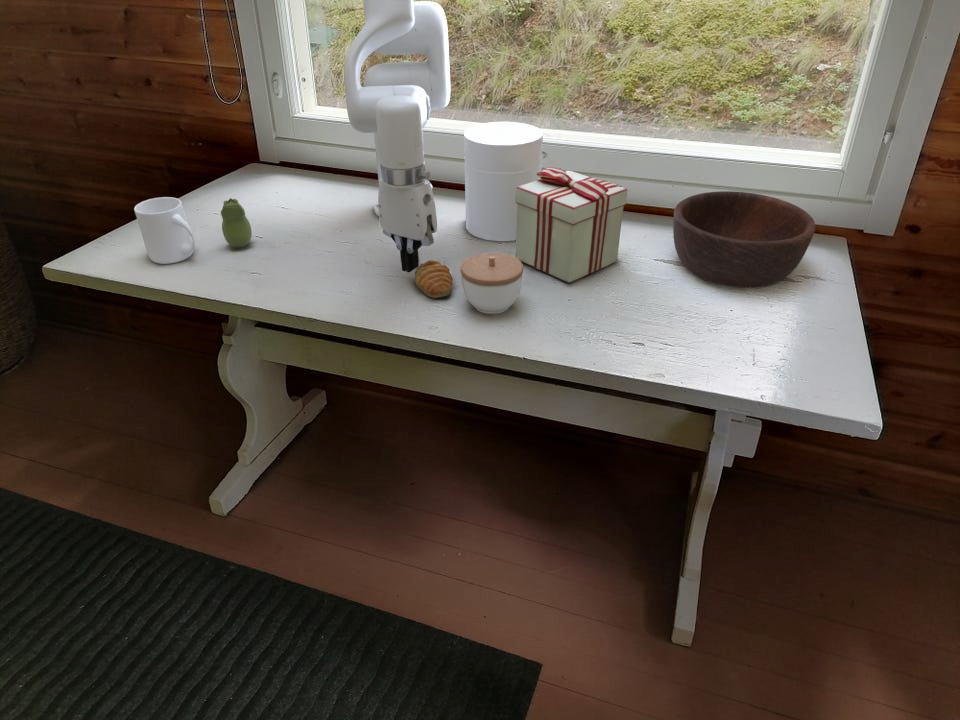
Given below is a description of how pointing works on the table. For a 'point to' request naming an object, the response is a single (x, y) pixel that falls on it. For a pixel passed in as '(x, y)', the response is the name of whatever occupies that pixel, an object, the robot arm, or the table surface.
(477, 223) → the canister
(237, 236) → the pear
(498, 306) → the trinket box
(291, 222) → the table surface
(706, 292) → the table surface
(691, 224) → the wooden bowl
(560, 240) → the gift box
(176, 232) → the mug
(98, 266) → the table surface
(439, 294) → the pastry
